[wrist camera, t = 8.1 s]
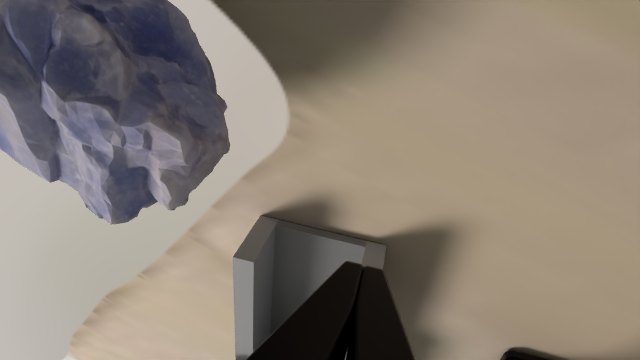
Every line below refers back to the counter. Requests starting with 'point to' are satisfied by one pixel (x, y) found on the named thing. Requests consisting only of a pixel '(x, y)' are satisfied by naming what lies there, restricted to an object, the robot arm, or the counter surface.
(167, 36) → the mineral
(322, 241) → the duct
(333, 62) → the counter surface
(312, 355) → the robot arm
